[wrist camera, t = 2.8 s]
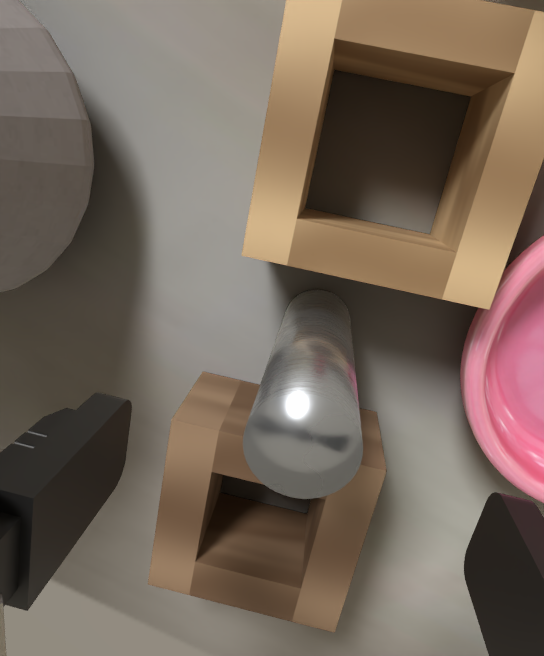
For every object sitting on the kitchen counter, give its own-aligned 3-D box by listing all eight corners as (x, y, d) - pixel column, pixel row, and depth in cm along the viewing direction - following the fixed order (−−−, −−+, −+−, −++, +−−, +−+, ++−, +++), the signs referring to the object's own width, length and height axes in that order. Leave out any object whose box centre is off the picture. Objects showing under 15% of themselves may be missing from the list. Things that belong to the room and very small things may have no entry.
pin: (291, 283, 20) (254, 380, 11) (357, 297, 20) (377, 409, 11) (278, 344, 21) (233, 483, 12) (341, 358, 21) (346, 510, 12)
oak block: (302, 15, 17) (292, -35, 13) (528, 58, 17) (593, 20, 13) (261, 237, 20) (241, 255, 16) (455, 279, 20) (489, 309, 15)
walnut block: (202, 371, 22) (171, 419, 18) (376, 412, 22) (386, 471, 17) (179, 513, 25) (147, 584, 21) (334, 551, 24) (334, 632, 20)
